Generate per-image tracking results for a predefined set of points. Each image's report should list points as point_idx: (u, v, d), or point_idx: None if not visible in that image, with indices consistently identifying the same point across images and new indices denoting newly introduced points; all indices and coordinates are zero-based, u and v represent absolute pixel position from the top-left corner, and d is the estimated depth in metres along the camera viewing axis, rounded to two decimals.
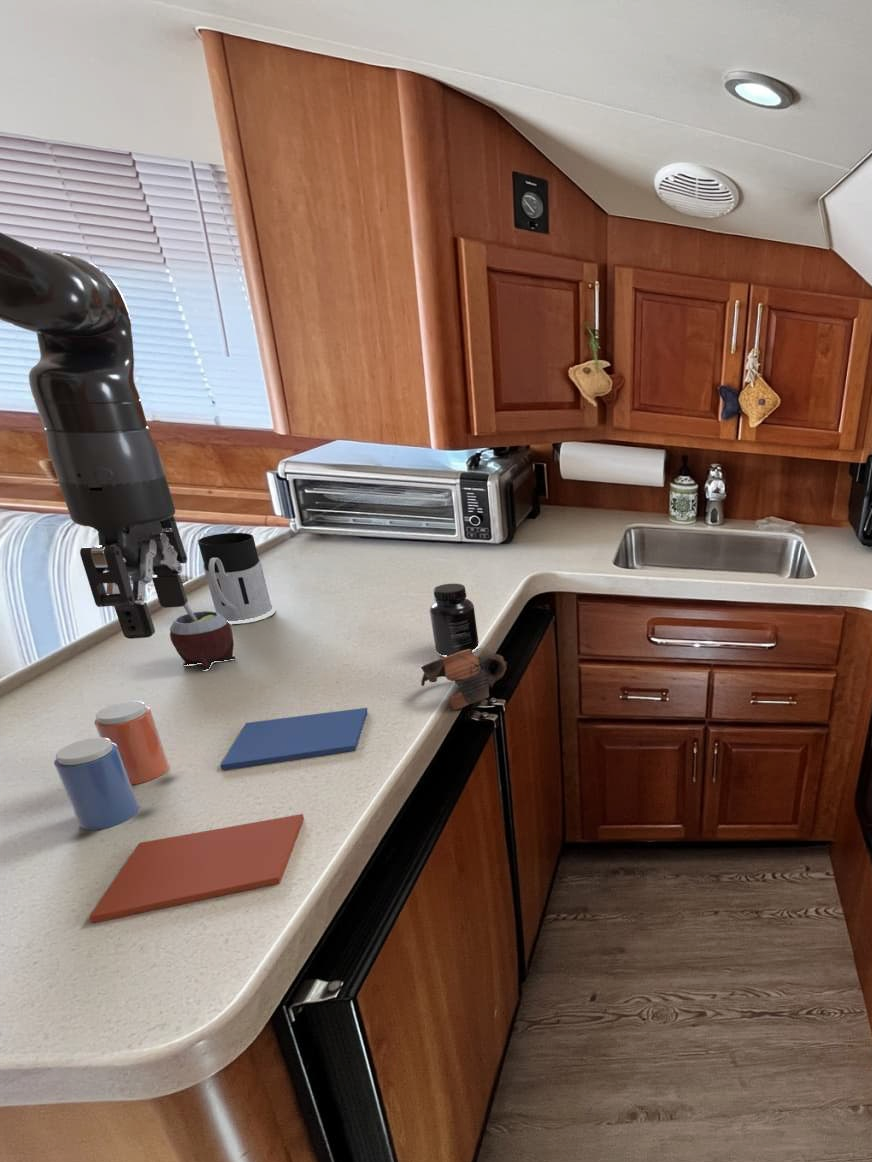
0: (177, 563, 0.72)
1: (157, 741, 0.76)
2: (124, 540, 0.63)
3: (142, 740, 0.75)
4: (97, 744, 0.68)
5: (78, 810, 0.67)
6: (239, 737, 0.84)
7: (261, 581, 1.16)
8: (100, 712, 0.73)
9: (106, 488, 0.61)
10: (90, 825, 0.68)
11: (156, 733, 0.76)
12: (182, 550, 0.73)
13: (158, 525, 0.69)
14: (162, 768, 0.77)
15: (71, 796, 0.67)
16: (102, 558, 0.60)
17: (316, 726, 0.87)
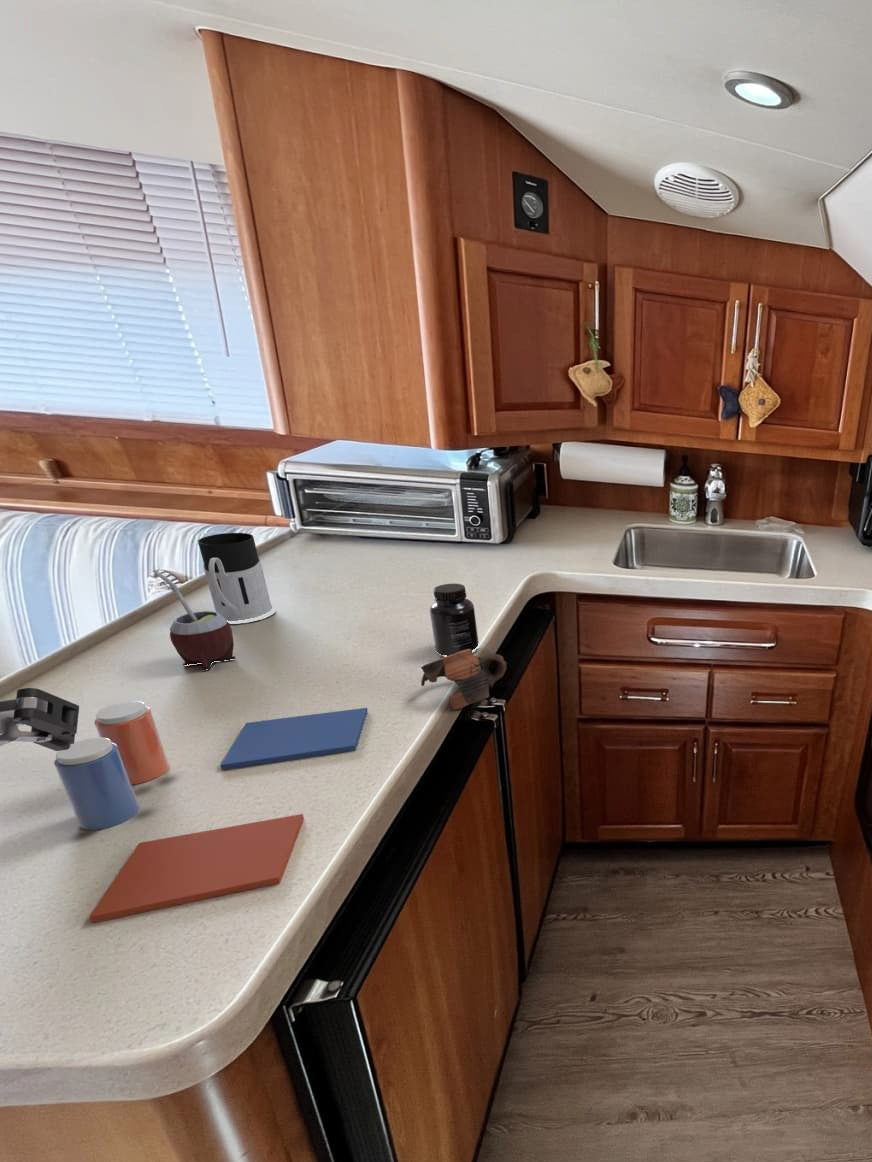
0: (33, 738, 0.53)
1: (157, 741, 0.76)
2: None
3: (142, 740, 0.75)
4: (97, 744, 0.68)
5: (78, 810, 0.67)
6: (239, 737, 0.84)
7: (261, 581, 1.16)
8: (100, 712, 0.73)
9: None
10: (90, 825, 0.68)
11: (156, 733, 0.76)
12: (60, 730, 0.53)
13: None
14: (162, 768, 0.77)
15: (71, 796, 0.67)
16: None
17: (316, 726, 0.87)
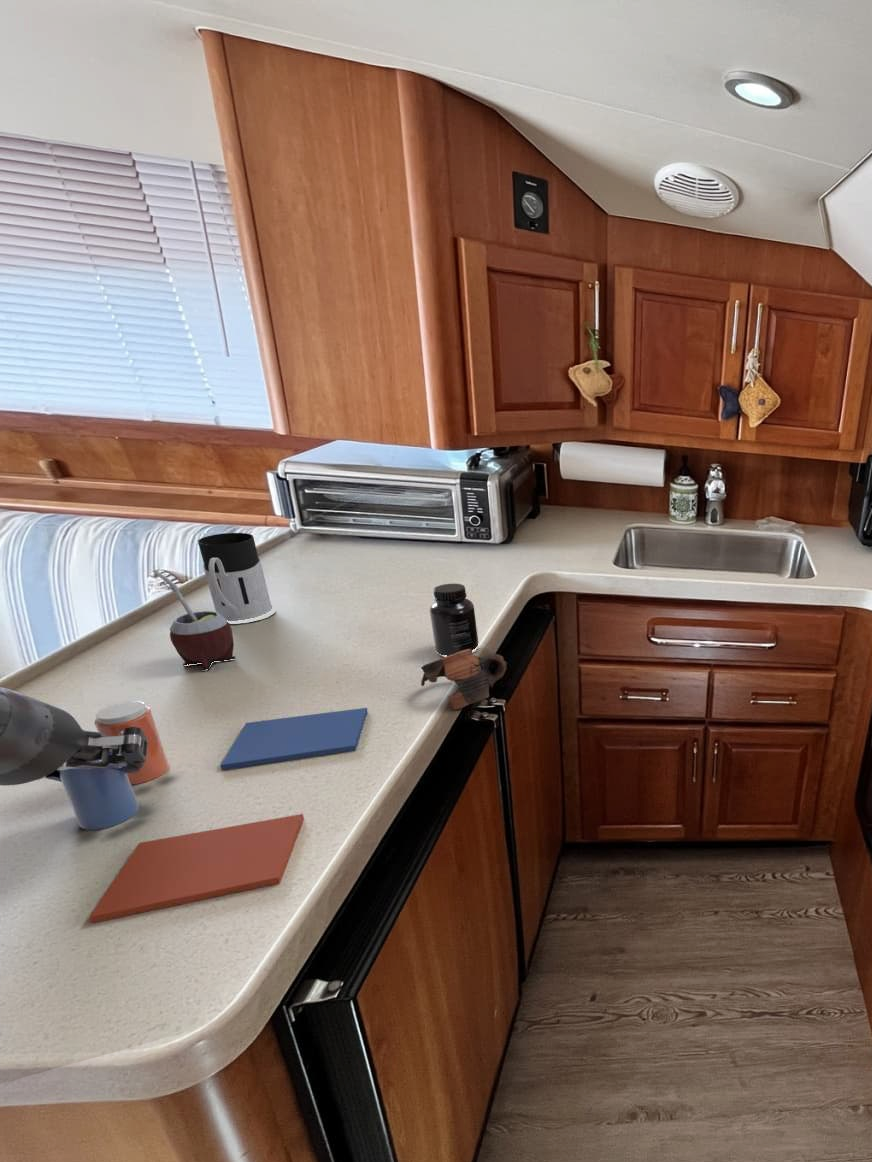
0: (112, 765, 0.67)
1: (157, 741, 0.76)
2: None
3: None
4: None
5: (78, 810, 0.67)
6: (239, 737, 0.84)
7: (261, 581, 1.16)
8: (100, 712, 0.73)
9: None
10: (90, 825, 0.68)
11: (156, 733, 0.76)
12: (137, 760, 0.67)
13: (81, 754, 0.62)
14: (162, 768, 0.77)
15: (71, 796, 0.67)
16: None
17: (316, 726, 0.87)
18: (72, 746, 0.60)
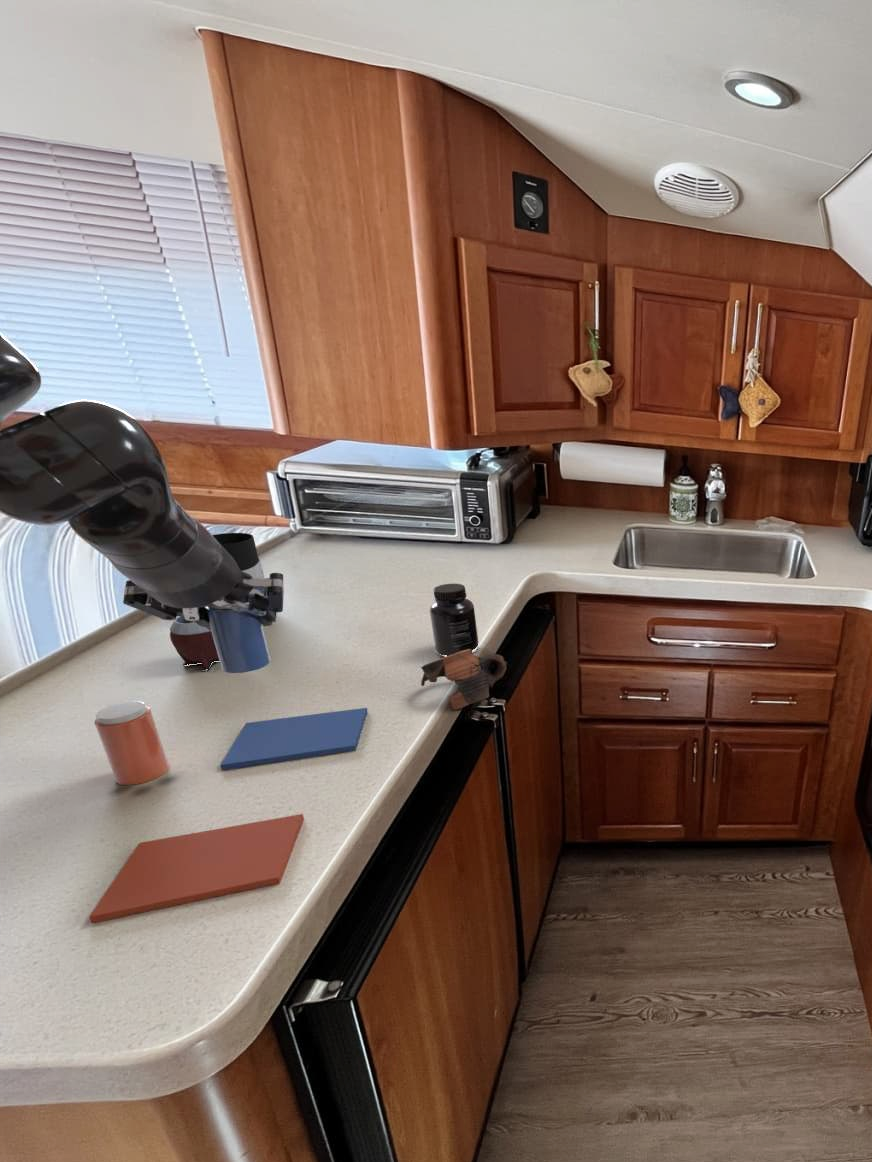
0: (255, 612, 0.74)
1: (157, 741, 0.76)
2: None
3: (142, 740, 0.75)
4: None
5: (223, 653, 0.75)
6: (239, 737, 0.84)
7: None
8: (100, 712, 0.73)
9: None
10: (232, 668, 0.76)
11: (156, 733, 0.76)
12: (277, 607, 0.74)
13: (237, 591, 0.70)
14: (162, 768, 0.77)
15: (218, 639, 0.74)
16: None
17: (316, 726, 0.87)
18: (233, 579, 0.68)
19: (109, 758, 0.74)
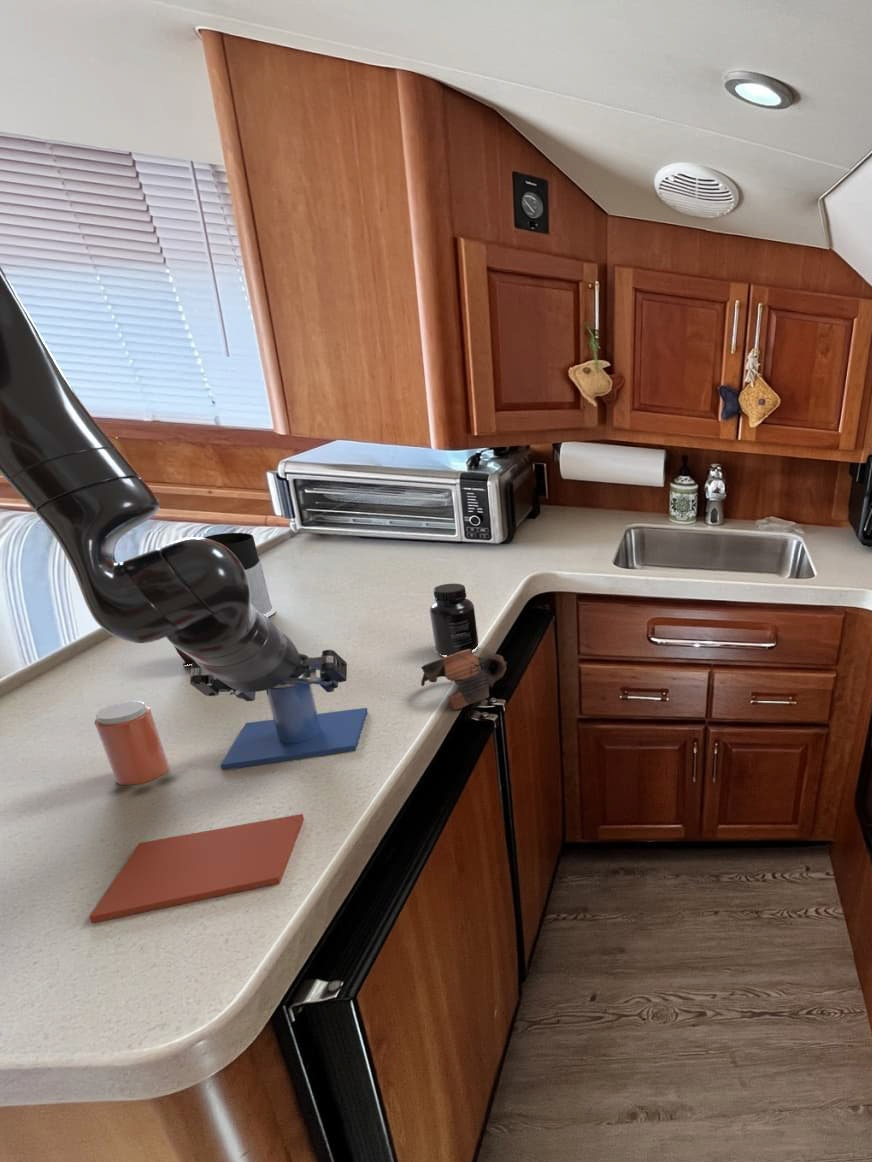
0: (322, 682, 0.82)
1: (157, 741, 0.76)
2: None
3: (142, 740, 0.75)
4: None
5: (281, 726, 0.82)
6: (239, 737, 0.84)
7: (261, 581, 1.16)
8: (100, 712, 0.73)
9: None
10: (289, 739, 0.83)
11: (156, 733, 0.76)
12: (339, 678, 0.82)
13: (296, 671, 0.77)
14: (162, 768, 0.77)
15: (276, 714, 0.82)
16: None
17: None
18: (294, 663, 0.75)
19: (109, 758, 0.74)
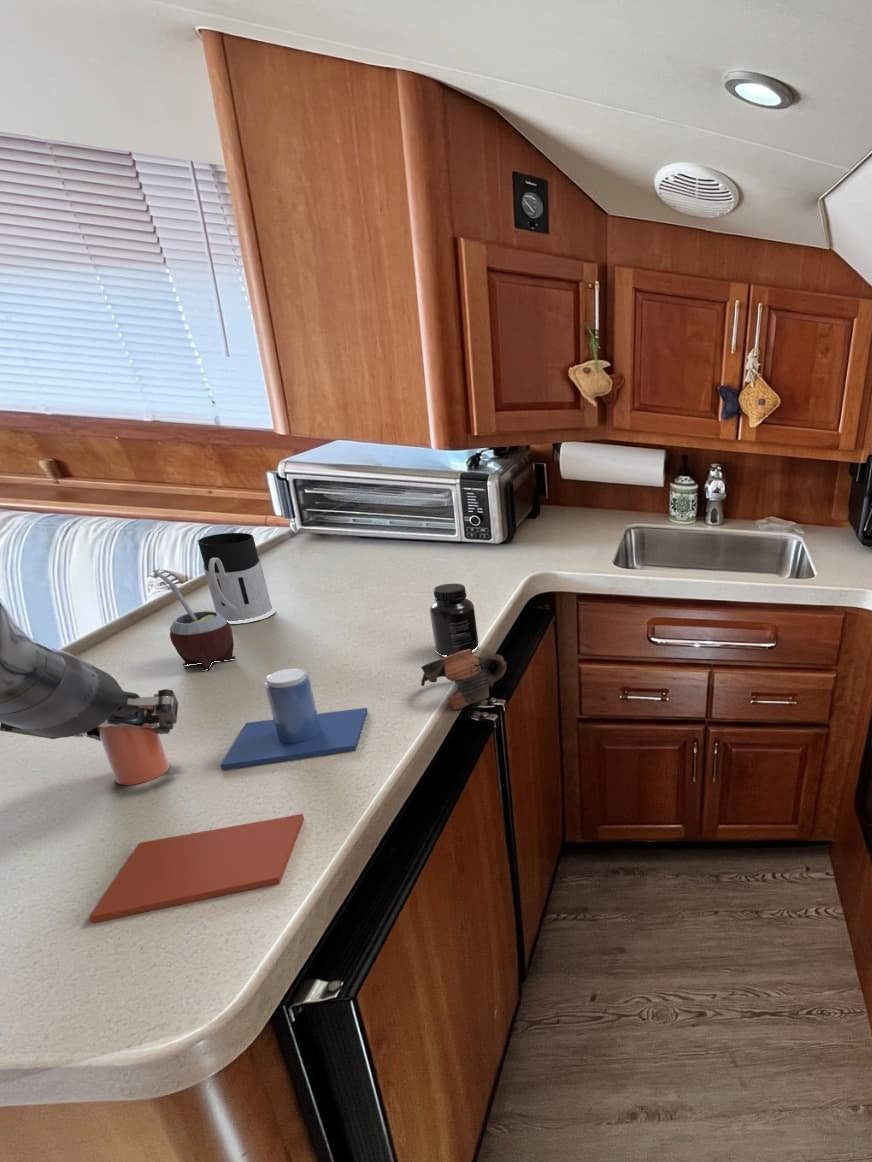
0: (147, 725, 0.73)
1: (157, 741, 0.76)
2: None
3: (142, 740, 0.75)
4: (295, 673, 0.83)
5: (281, 726, 0.82)
6: (239, 737, 0.84)
7: (261, 581, 1.16)
8: None
9: None
10: (289, 739, 0.83)
11: (156, 733, 0.76)
12: (169, 720, 0.74)
13: (121, 712, 0.69)
14: (162, 768, 0.77)
15: (276, 714, 0.82)
16: None
17: None
18: (114, 704, 0.67)
19: (109, 758, 0.74)
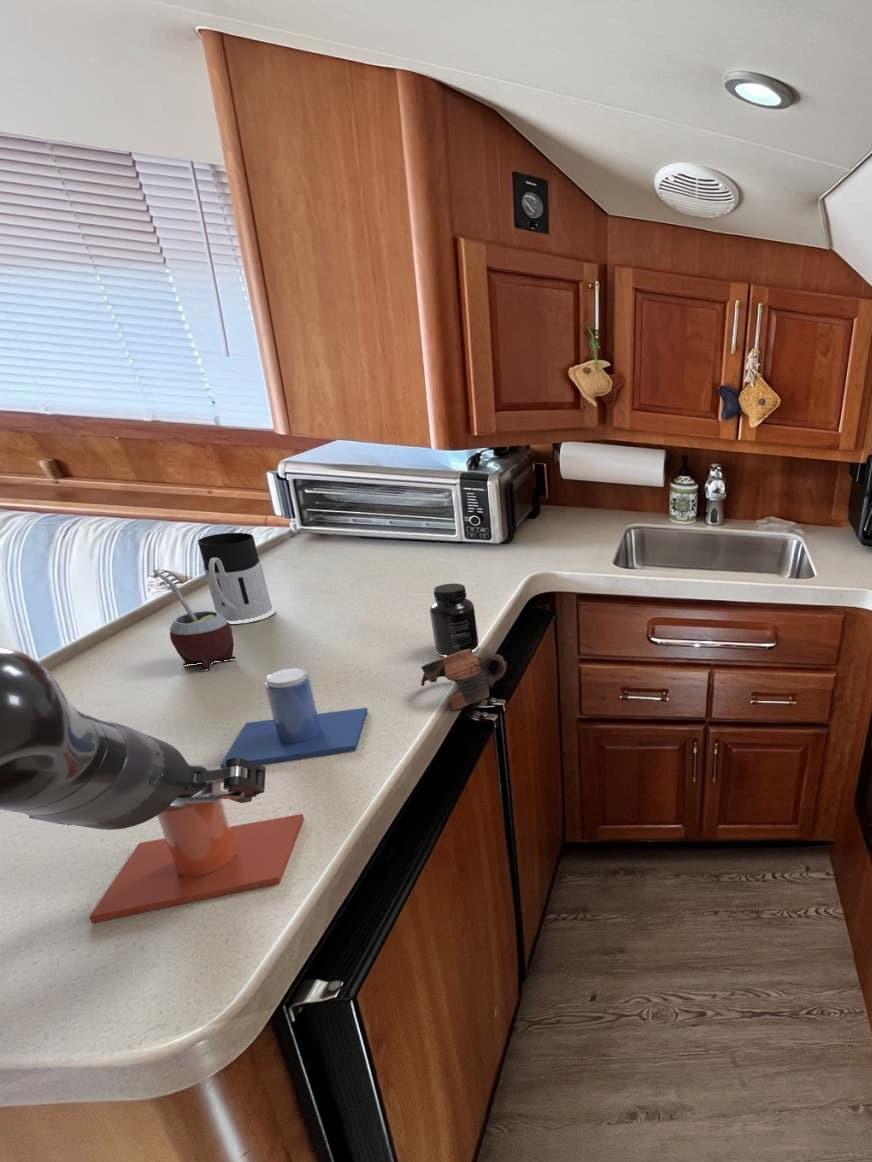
0: (230, 796, 0.61)
1: (225, 823, 0.64)
2: None
3: (209, 824, 0.62)
4: (295, 673, 0.83)
5: (281, 726, 0.82)
6: (239, 737, 0.84)
7: (261, 581, 1.16)
8: None
9: None
10: (289, 739, 0.83)
11: (224, 813, 0.64)
12: (253, 791, 0.61)
13: (187, 791, 0.56)
14: (230, 854, 0.65)
15: (276, 714, 0.82)
16: None
17: None
18: (180, 784, 0.54)
19: (170, 847, 0.62)
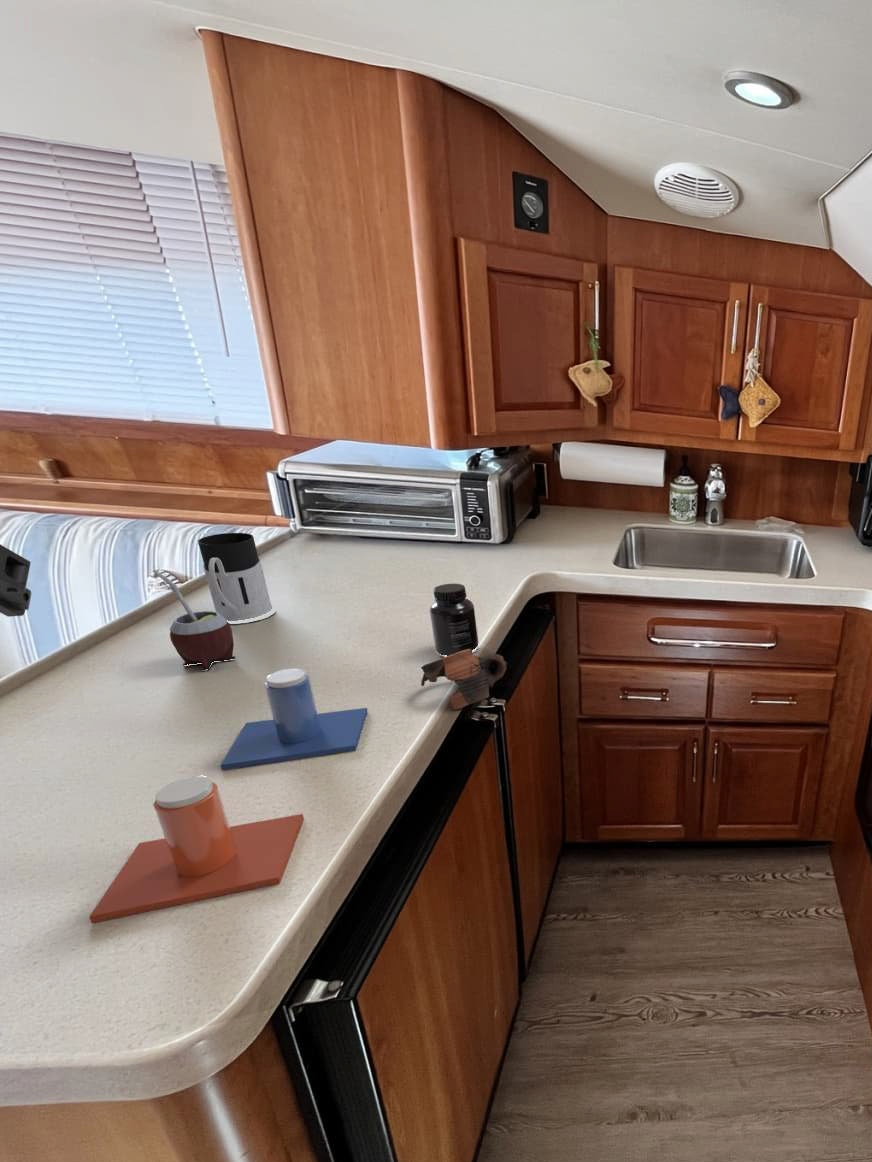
0: None
1: (225, 823, 0.64)
2: None
3: (209, 824, 0.62)
4: (295, 673, 0.83)
5: (281, 726, 0.82)
6: (239, 737, 0.84)
7: (261, 581, 1.16)
8: (160, 793, 0.61)
9: None
10: (289, 739, 0.83)
11: (224, 813, 0.64)
12: (3, 585, 0.45)
13: None
14: (230, 854, 0.65)
15: (276, 714, 0.82)
16: None
17: None
18: None
19: (170, 847, 0.62)
